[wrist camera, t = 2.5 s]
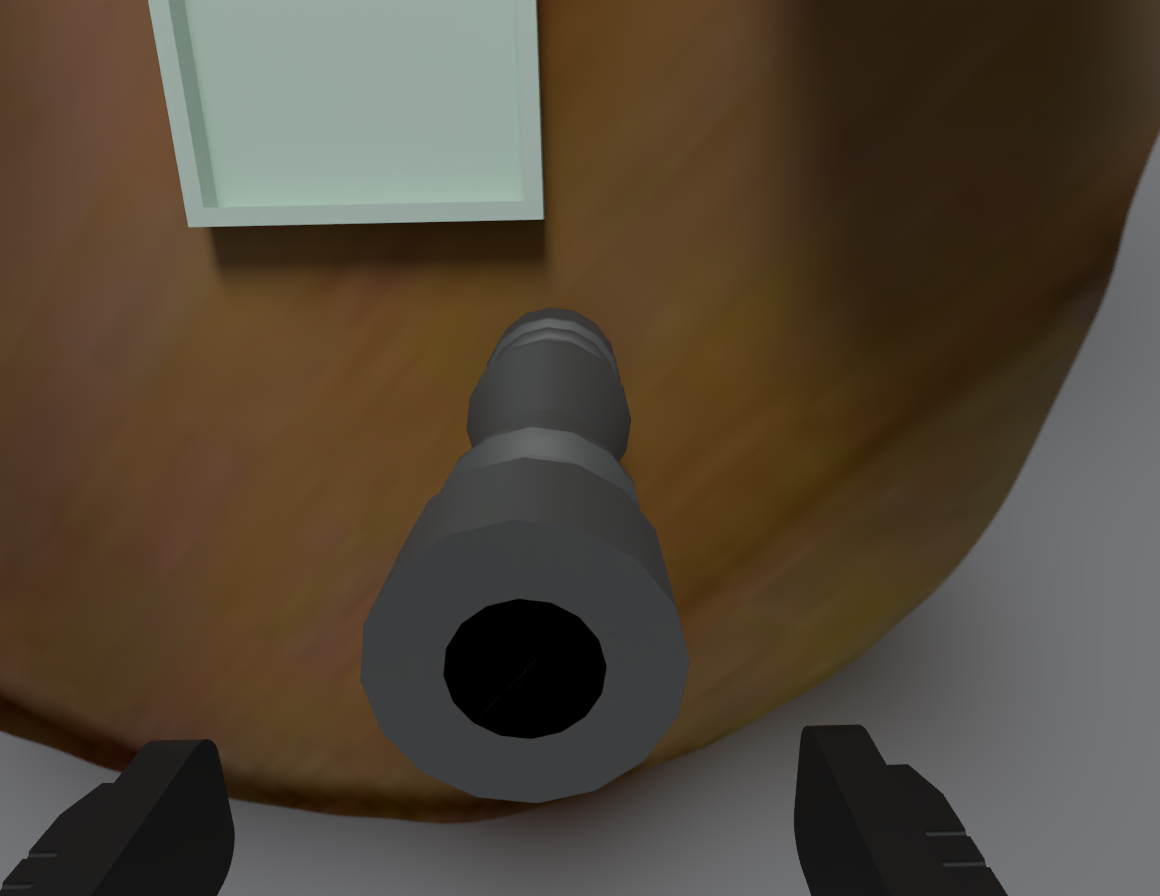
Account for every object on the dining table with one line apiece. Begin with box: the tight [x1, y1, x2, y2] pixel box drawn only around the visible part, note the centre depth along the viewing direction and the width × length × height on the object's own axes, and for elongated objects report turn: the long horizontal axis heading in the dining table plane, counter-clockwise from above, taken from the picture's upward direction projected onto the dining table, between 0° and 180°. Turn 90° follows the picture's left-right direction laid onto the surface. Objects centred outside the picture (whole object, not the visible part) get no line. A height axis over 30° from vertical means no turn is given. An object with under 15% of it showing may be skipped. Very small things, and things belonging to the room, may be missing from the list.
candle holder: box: [361, 308, 690, 803], centre depth 24 cm, size 6×6×25 cm
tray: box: [148, 0, 545, 227], centre depth 31 cm, size 16×16×2 cm
